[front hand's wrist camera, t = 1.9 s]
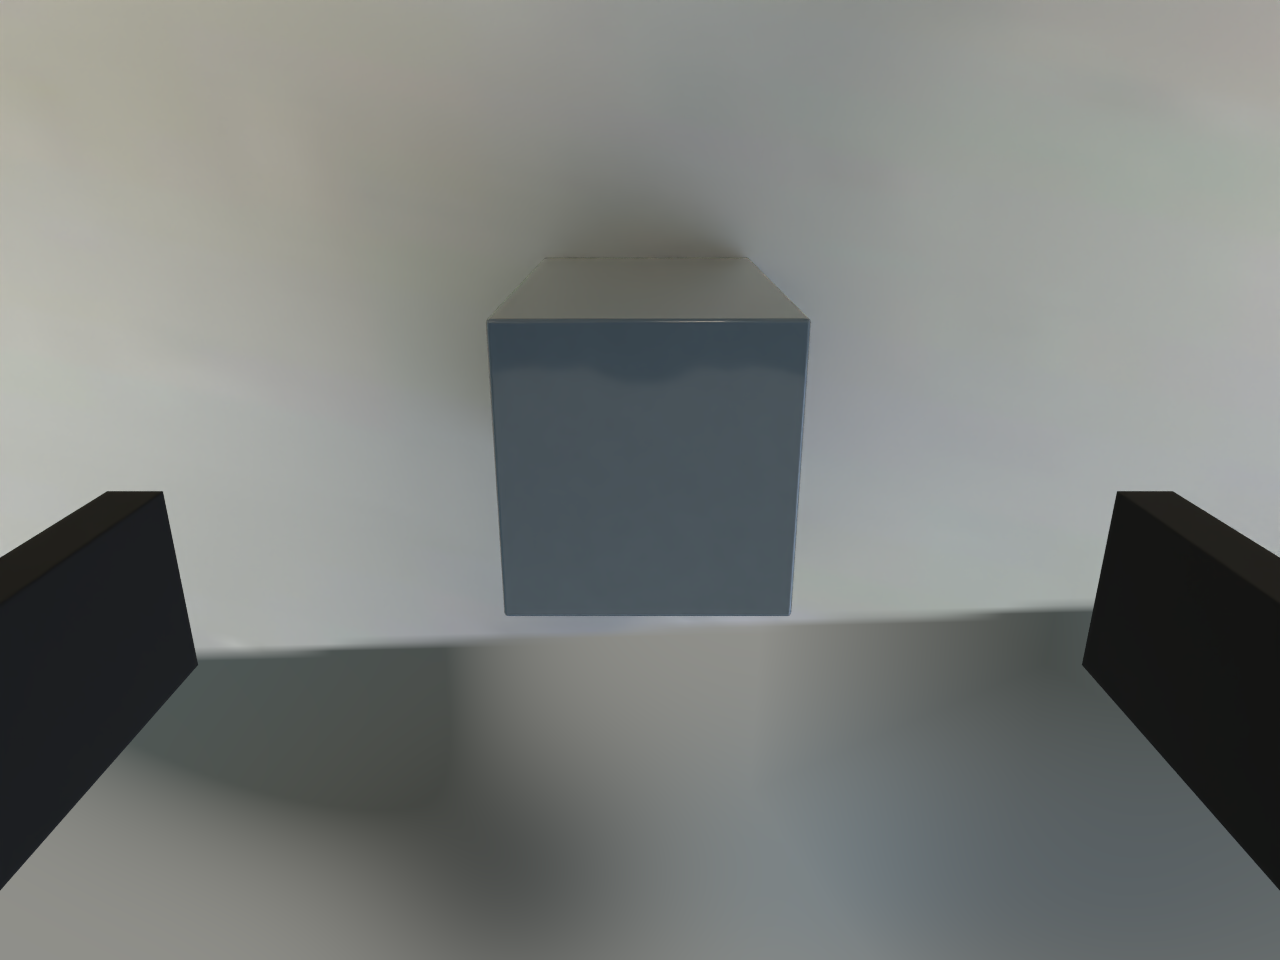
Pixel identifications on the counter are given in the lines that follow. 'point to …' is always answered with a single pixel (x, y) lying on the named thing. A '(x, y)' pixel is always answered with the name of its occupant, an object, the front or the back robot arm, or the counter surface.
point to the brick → (648, 438)
